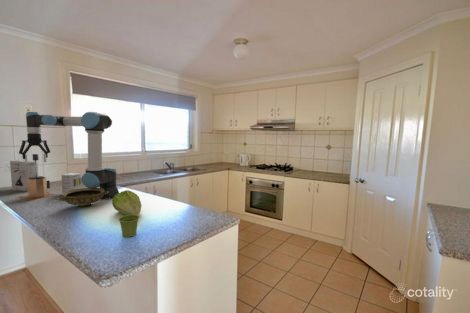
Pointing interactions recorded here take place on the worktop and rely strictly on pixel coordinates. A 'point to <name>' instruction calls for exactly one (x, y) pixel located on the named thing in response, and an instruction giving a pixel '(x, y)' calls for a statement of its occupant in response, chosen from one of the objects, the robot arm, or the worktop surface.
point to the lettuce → (127, 203)
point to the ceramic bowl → (83, 196)
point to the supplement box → (71, 181)
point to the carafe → (37, 187)
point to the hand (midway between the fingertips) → (35, 162)
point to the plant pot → (129, 225)
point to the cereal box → (21, 173)
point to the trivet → (36, 198)
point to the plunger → (35, 162)
